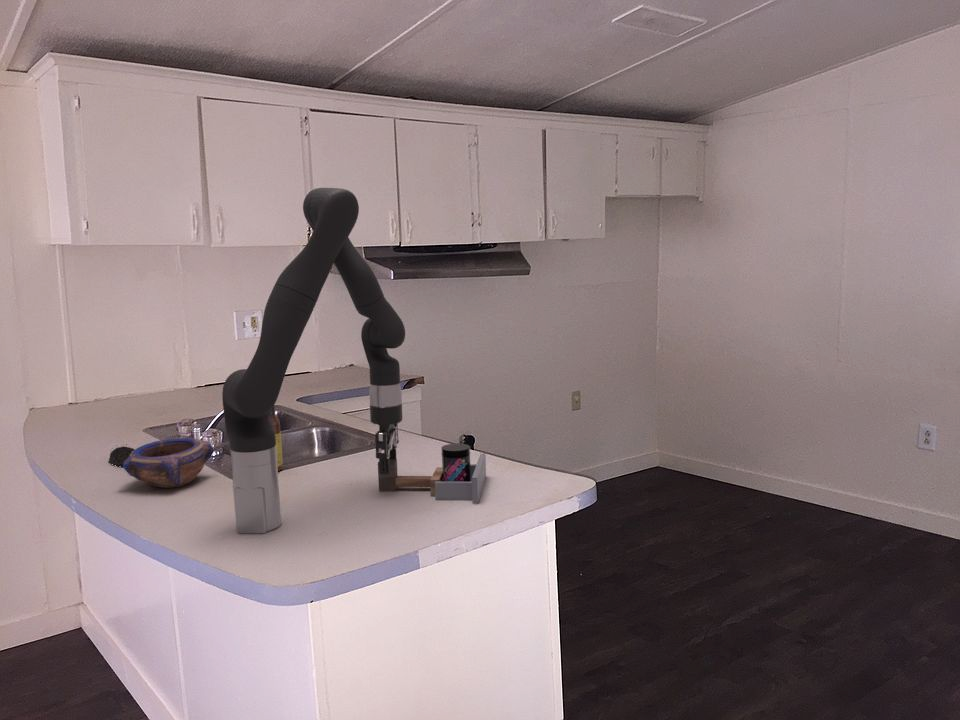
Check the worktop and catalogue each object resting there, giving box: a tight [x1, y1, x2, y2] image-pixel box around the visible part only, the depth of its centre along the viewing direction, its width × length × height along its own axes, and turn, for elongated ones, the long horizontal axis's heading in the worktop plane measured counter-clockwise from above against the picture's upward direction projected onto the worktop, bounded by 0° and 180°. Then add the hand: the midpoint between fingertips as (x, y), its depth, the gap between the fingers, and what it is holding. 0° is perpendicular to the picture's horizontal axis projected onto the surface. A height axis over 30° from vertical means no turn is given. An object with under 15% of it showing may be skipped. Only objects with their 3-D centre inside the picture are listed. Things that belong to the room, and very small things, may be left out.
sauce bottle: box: [268, 405, 284, 472], centre depth 210 cm, size 6×6×20 cm
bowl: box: [122, 437, 215, 489], centre depth 202 cm, size 18×18×10 cm
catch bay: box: [434, 453, 487, 504], centre depth 191 cm, size 20×10×6 cm, turn 174°
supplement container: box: [440, 443, 472, 482], centre depth 190 cm, size 7×7×10 cm
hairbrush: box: [108, 444, 136, 467], centre depth 219 cm, size 8×4×25 cm
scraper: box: [377, 458, 443, 497], centre depth 192 cm, size 10×15×7 cm, turn 84°
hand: (388, 469), depth 192 cm, fingers open, 8 cm apart
